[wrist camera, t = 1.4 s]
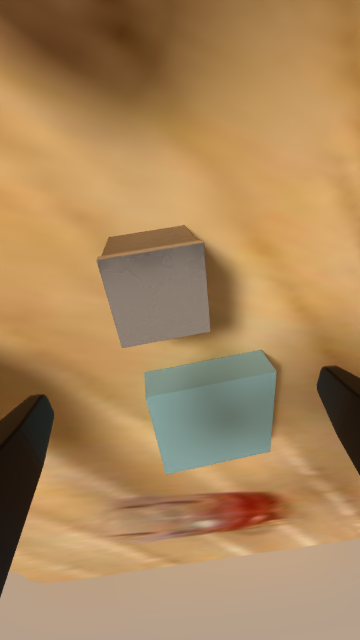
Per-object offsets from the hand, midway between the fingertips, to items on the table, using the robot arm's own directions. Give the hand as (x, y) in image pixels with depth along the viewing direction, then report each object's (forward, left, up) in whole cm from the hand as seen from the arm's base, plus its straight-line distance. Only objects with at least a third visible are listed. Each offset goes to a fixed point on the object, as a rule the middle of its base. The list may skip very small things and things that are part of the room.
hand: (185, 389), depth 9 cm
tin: (0, 0, -13) cm, 13 cm away
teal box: (+3, -15, -13) cm, 20 cm away
